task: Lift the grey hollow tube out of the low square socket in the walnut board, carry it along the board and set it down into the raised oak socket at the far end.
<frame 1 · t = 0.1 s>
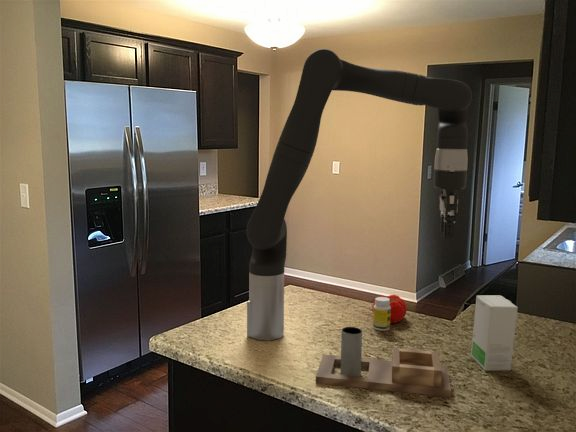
hand: (446, 235, 128), 29 cm above the counter, fingers open, 8 cm apart
grey hollow tube: (350, 375, 118), resting in socket board
tomato: (389, 320, 154), on the counter
supplement bottle: (381, 328, 147), on the counter
skincare box: (491, 364, 124), on the counter
socket board: (382, 377, 116), on the counter
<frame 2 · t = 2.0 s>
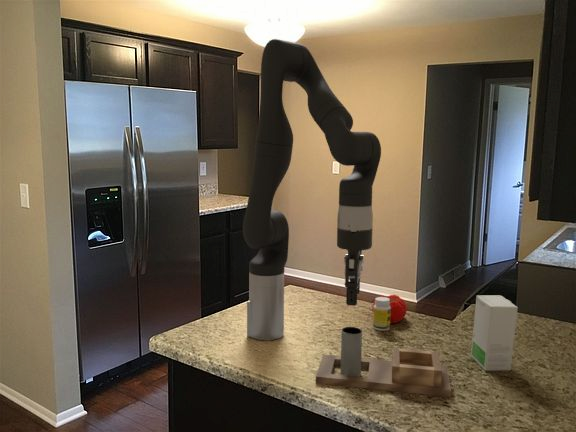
hand: (353, 299, 115), 17 cm above the counter, fingers open, 8 cm apart
nothing on the counter moved.
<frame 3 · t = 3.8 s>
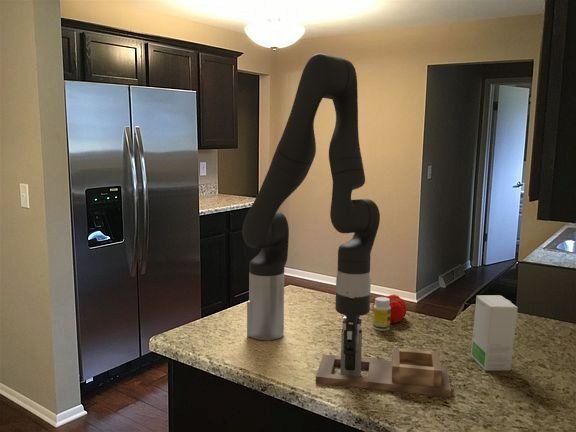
hand: (350, 364, 117), 2 cm above the counter, fingers closed on grey hollow tube, 4 cm apart
grey hollow tube: (350, 375, 118), resting in socket board, touching gripper
everything else where it was.
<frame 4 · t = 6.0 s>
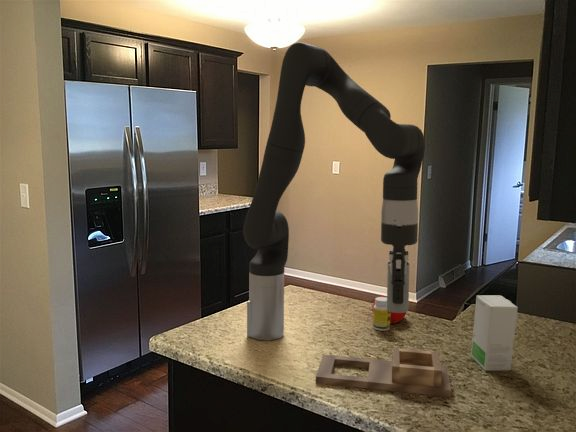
hand: (397, 299, 113), 18 cm above the counter, fingers closed on grey hollow tube, 4 cm apart
grey hollow tube: (397, 310, 113), point 16 cm above the counter, touching gripper
everything else where it was.
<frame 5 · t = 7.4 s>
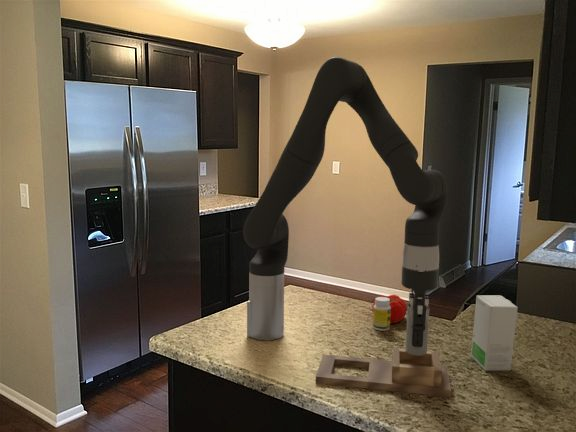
hand: (416, 341, 114), 9 cm above the counter, fingers closed on grey hollow tube, 4 cm apart
grey hollow tube: (416, 352, 114), point 6 cm above the counter, touching gripper
everything else where it was.
when the fingers open (6 cm above the counter, at t = 8.3 s): grey hollow tube drops 1 cm, resting on socket board.
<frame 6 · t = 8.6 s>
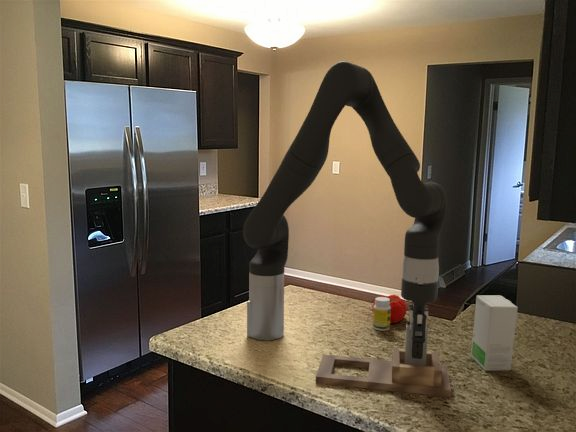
hand: (416, 350, 114), 7 cm above the counter, fingers open, 7 cm apart
grey hollow tube: (414, 370, 115), point 2 cm above the counter, touching socket board
everything else where it was.
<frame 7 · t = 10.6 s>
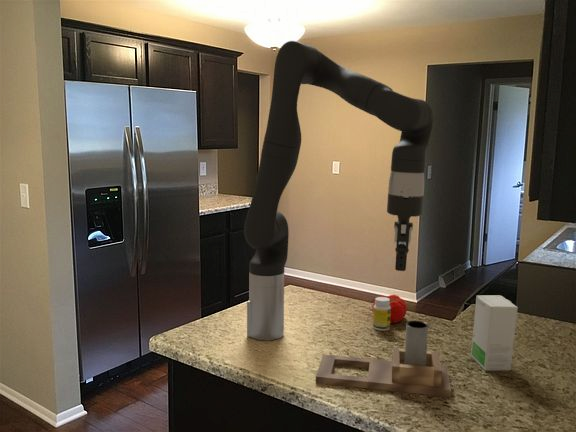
hand: (400, 265, 116), 24 cm above the counter, fingers open, 8 cm apart
nothing on the counter moved.
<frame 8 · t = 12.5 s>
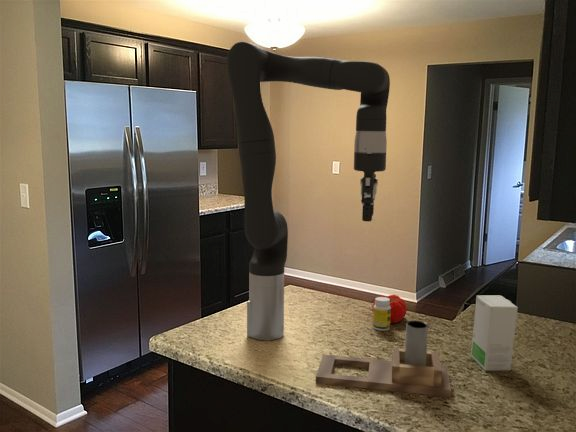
hand: (367, 218, 127), 33 cm above the counter, fingers open, 8 cm apart
nothing on the counter moved.
at the end: grey hollow tube 0.1 cm from the target spot, point 2.3 cm above the counter; grey hollow tube tilted 0°; the gripper is holding nothing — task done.
